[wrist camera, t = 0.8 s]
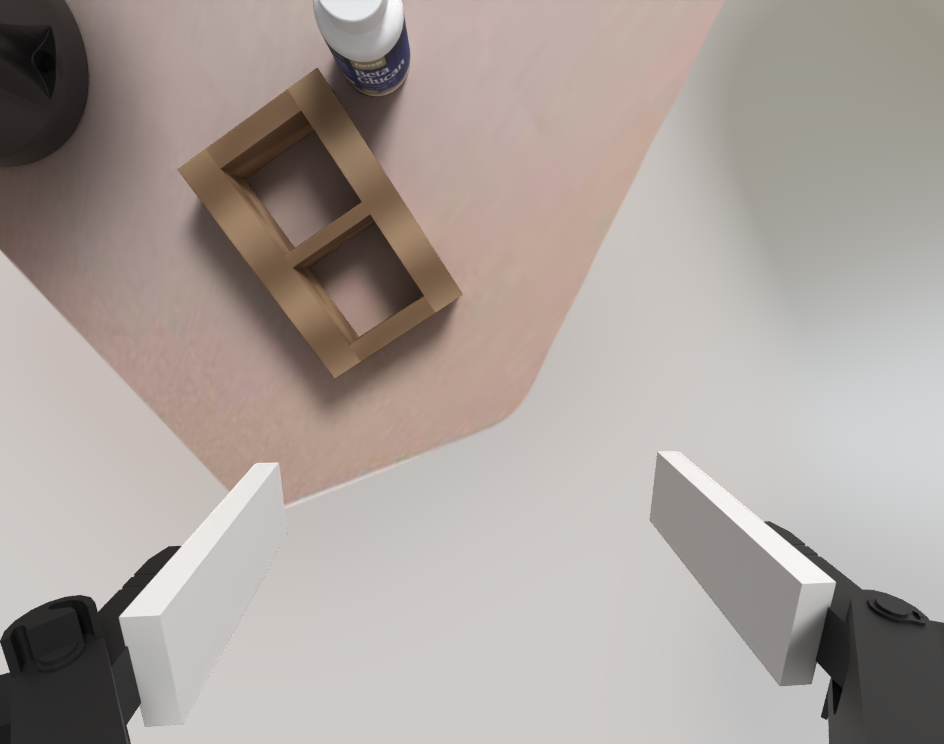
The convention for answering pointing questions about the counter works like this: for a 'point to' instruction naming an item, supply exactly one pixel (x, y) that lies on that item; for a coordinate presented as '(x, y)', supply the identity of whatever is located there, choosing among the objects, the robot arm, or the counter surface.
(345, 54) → the pill bottle
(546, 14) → the counter surface
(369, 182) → the socket board
